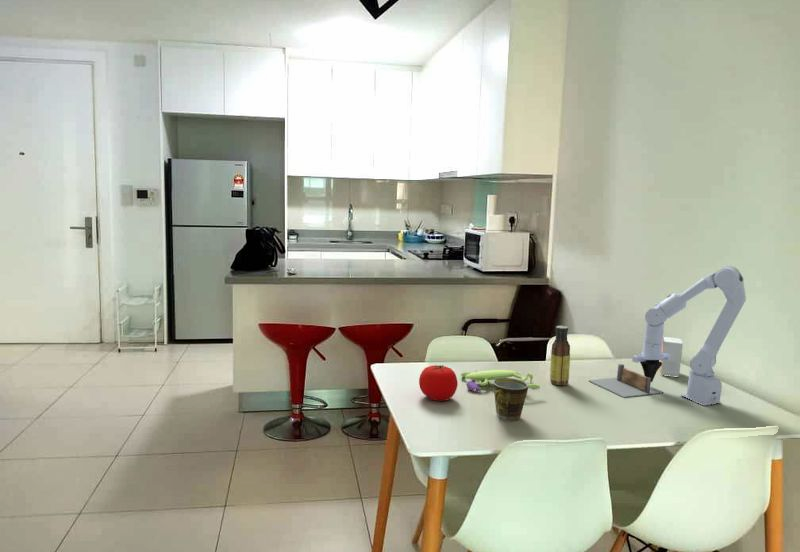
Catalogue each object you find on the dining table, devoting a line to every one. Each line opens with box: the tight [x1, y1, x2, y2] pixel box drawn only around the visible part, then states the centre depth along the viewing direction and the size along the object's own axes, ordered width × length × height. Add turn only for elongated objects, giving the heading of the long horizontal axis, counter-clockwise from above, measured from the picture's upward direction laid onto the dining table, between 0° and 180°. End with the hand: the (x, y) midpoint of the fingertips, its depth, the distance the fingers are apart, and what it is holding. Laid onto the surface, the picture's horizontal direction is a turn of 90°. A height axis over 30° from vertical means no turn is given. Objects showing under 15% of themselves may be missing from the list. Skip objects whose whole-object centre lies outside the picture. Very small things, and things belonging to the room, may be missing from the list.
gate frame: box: [588, 363, 663, 399], centre depth 211 cm, size 17×17×6 cm
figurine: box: [460, 369, 541, 392], centre depth 205 cm, size 18×27×6 cm
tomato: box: [418, 364, 458, 402], centre depth 191 cm, size 12×12×10 cm
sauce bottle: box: [549, 325, 571, 386], centre depth 211 cm, size 6×6×20 cm
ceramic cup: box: [492, 377, 529, 422], centre depth 178 cm, size 13×10×10 cm
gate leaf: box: [621, 367, 648, 391], centre depth 211 cm, size 11×1×4 cm, turn 23°
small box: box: [659, 336, 684, 377], centre depth 228 cm, size 8×6×13 cm
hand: (648, 381), depth 211 cm, fingers closed
